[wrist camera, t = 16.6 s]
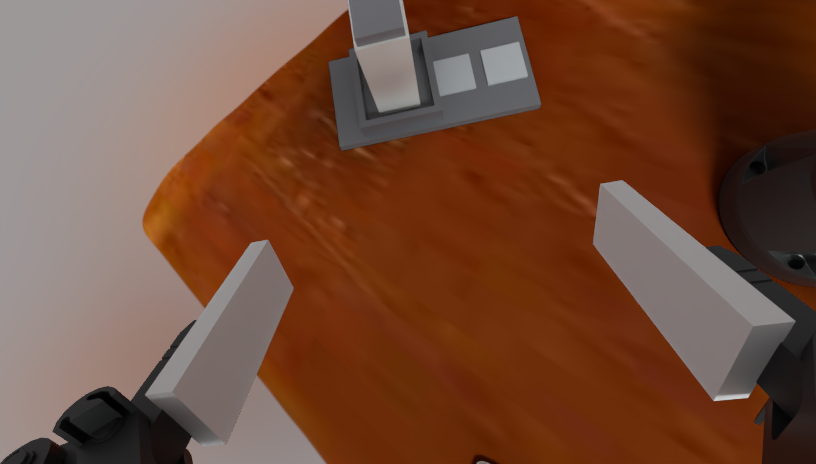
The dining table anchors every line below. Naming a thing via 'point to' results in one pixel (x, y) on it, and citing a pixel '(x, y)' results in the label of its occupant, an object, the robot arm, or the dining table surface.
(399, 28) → the plug
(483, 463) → the silver rectangular frame
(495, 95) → the grey socket base plate
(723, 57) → the dining table surface
